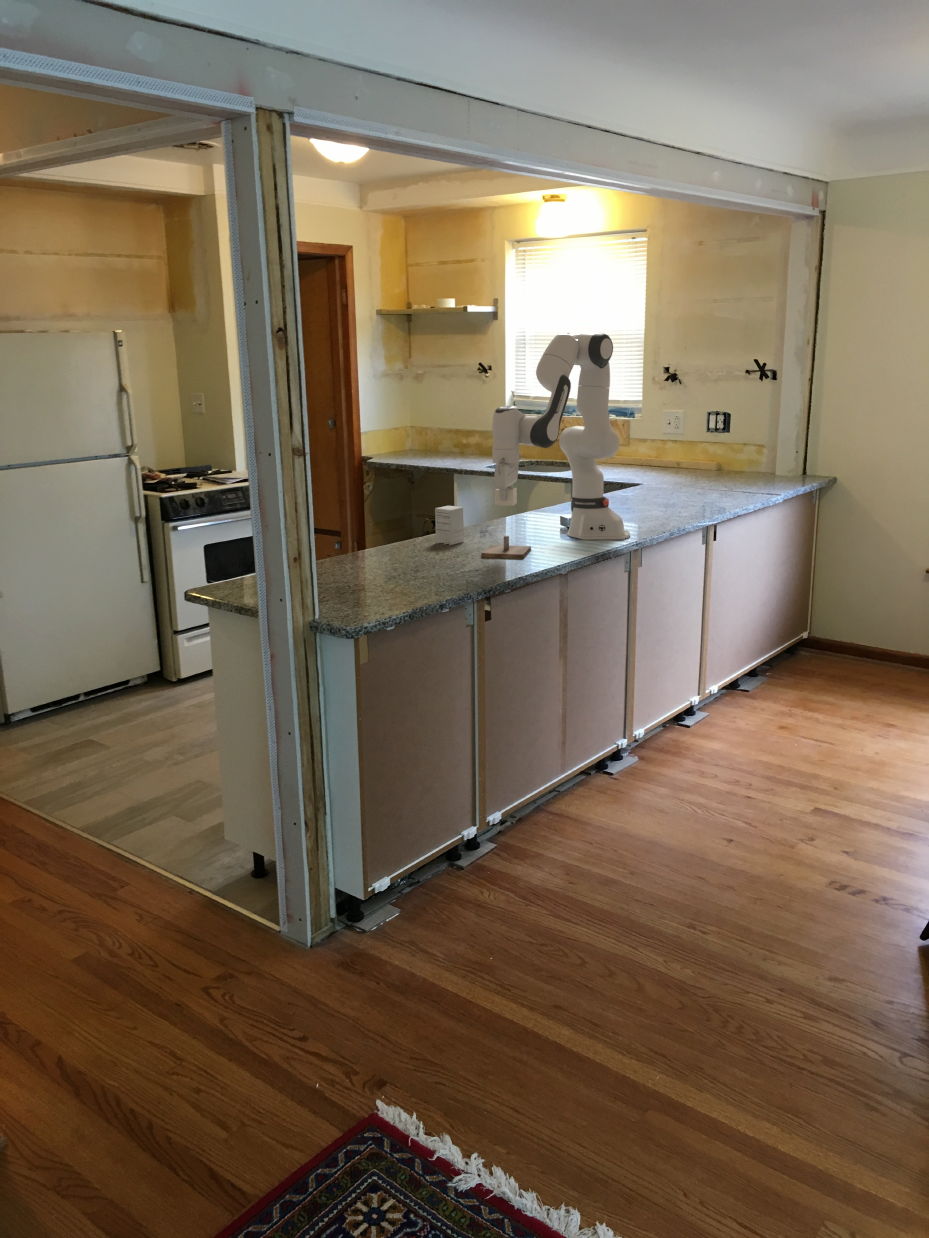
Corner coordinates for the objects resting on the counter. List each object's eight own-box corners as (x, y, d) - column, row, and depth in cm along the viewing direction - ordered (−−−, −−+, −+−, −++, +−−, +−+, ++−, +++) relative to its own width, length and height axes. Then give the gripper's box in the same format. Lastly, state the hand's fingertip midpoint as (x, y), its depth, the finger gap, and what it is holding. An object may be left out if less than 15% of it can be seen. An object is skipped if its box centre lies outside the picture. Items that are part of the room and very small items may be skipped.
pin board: (530, 550, 338) (530, 533, 336) (522, 559, 325) (522, 541, 323) (490, 549, 341) (490, 531, 340) (481, 557, 328) (481, 539, 327)
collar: (516, 503, 331) (516, 488, 329) (513, 505, 325) (513, 490, 324) (499, 502, 332) (499, 487, 331) (495, 505, 326) (495, 490, 325)
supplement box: (448, 539, 359) (447, 505, 355) (464, 542, 354) (463, 506, 351) (435, 543, 353) (434, 507, 350) (451, 545, 349) (450, 509, 345)
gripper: (508, 460, 314) (508, 504, 318) (521, 454, 333) (521, 495, 337) (489, 460, 316) (489, 503, 319) (503, 453, 335) (503, 494, 338)
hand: (506, 499), depth 328 cm, fingers closed on collar, 6 cm apart
